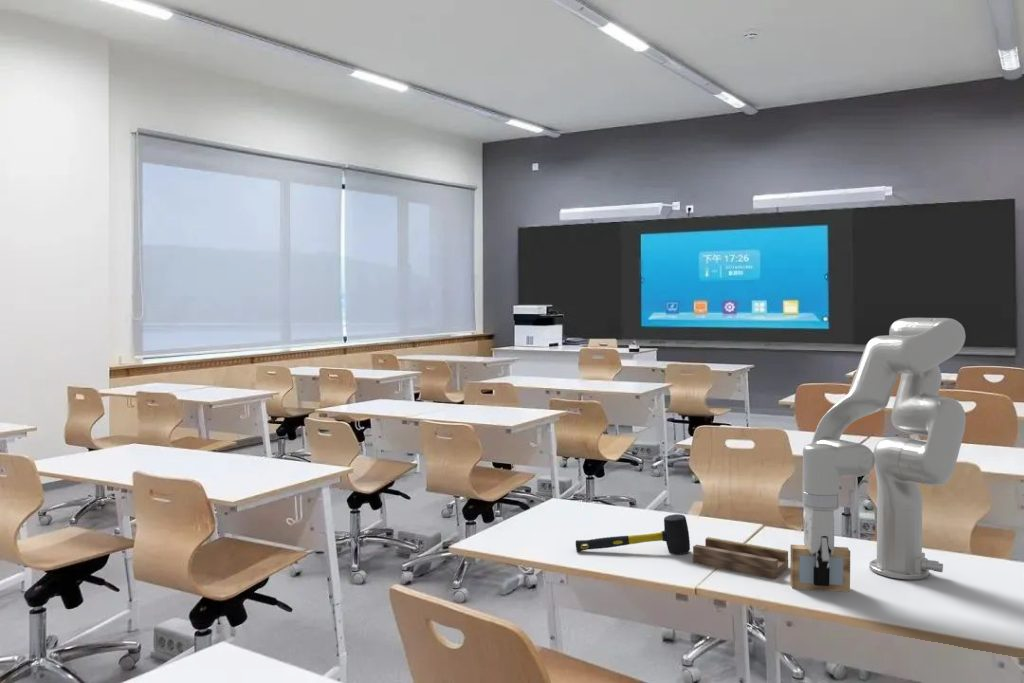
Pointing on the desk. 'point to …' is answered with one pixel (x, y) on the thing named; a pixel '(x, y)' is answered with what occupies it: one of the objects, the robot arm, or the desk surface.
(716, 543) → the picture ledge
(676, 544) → the mallet
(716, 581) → the desk surface
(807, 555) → the wooden picture frame
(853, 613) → the desk surface
